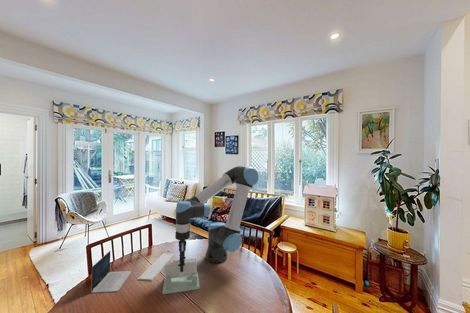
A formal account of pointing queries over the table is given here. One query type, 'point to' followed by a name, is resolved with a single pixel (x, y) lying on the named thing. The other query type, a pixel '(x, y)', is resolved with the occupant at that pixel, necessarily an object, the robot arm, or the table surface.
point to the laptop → (112, 278)
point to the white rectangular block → (173, 268)
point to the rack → (181, 284)
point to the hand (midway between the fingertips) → (181, 274)
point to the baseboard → (156, 267)
